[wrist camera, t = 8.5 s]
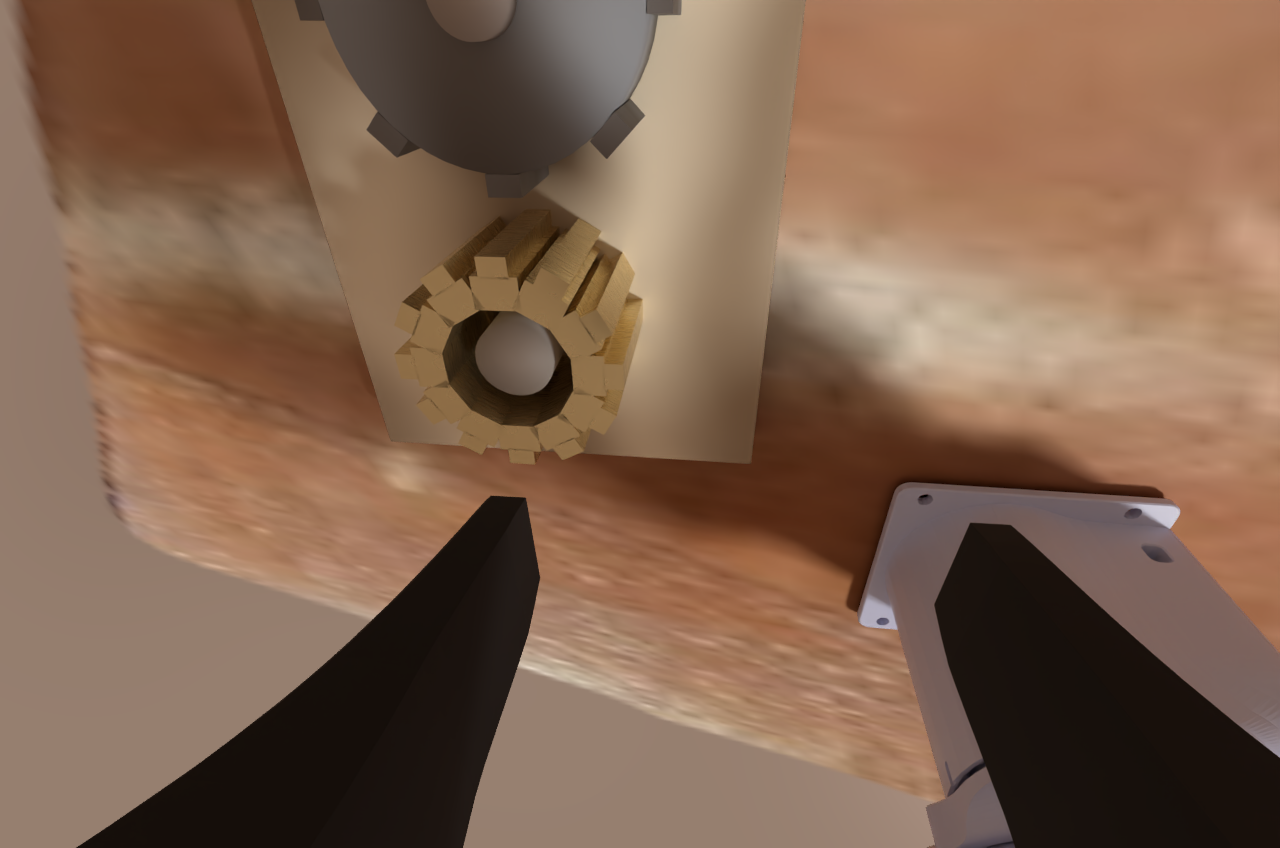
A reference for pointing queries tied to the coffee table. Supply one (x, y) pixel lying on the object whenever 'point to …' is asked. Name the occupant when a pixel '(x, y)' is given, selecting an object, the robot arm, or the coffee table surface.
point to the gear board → (556, 181)
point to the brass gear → (544, 292)
